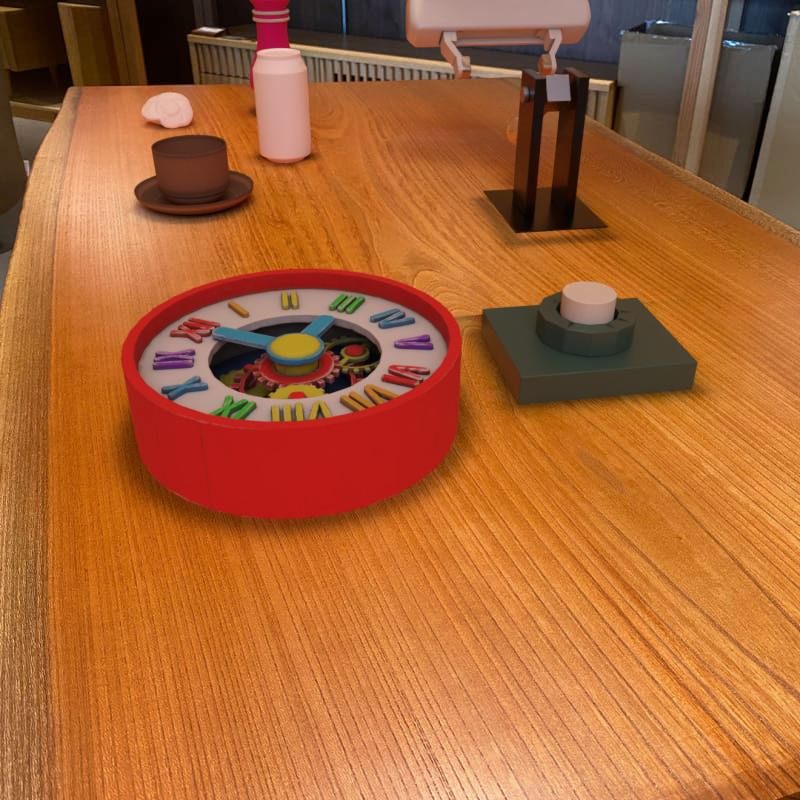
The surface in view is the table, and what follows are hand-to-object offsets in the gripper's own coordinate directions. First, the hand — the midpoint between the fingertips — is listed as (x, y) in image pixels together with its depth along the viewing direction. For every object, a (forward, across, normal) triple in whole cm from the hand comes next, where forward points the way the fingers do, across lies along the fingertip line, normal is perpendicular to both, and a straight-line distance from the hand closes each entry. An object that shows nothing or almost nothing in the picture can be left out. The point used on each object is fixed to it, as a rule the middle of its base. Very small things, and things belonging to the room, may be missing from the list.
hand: (506, 74), depth 90 cm
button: (+36, -6, -25) cm, 44 cm away
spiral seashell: (-12, -39, +28) cm, 49 cm away
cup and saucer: (+11, -34, +4) cm, 36 cm away
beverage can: (+1, -24, +15) cm, 28 cm away
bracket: (+18, 0, -3) cm, 19 cm away
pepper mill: (-16, -24, +31) cm, 42 cm away
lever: (+10, 0, -6) cm, 12 cm away
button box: (+38, -6, -23) cm, 45 cm away
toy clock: (+41, -26, -26) cm, 55 cm away
